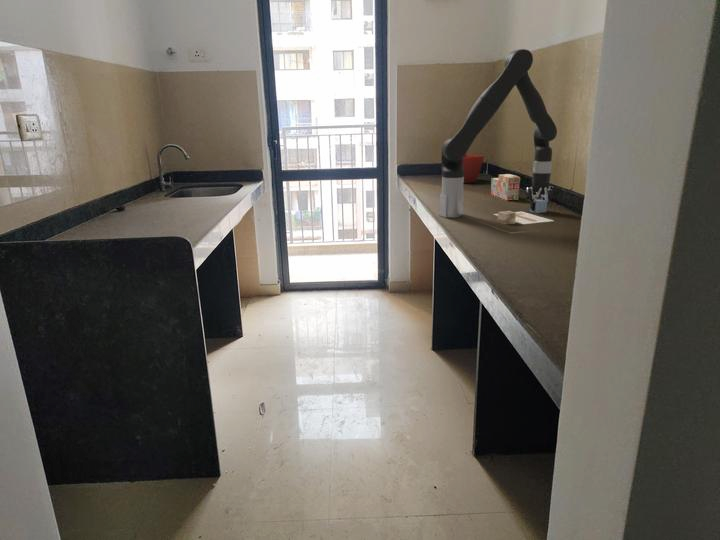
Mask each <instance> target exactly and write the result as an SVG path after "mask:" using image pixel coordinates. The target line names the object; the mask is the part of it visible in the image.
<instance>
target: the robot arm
mask: <svg viewBox="0 0 720 540" xmlns="http://www.w3.org/2000/svg"><path fill="white" fill-rule="evenodd" d="M533 61H534V56H533V54H532V52H531V51H530V50H528V49H525V48H522V49H516V50H513V51H511V52H509V53H508V54H507V55H506V57H505V58H504V70H503V71H502V72H501V74H500V75H499V77H497V78H496V80H495V81H493V83H491V84H490V85H489V86H488V87H487V88H486V89H485V90H484V91H483V92H482V93H481V95H479V96H478V98H477V99H476V101H475V102H474V104H473V105H472V107H471V108H470V110H469V112H468V114H467V116H466V119H465V121H464V123H463V125H462V126H461V128H460V129H459V130H458V132H457V133H456V134H455V135H454V136H453V137H451V138H448V139H446V141H444V143H443V145H442V146H441V173H442V174H441V175H442V176H441V193H440V194H439V214H438V215H439V216H441V217H443V218H460V217H463V208H464V207H463V205H464V184H465V183H464V170H463V157H464V156H465V154H467V152H468V151H469V149H470V147H471V146H472V144H473V143H474V141H475V139H477V137H478V135H479V134H480V133H481V132H482V131H483V129H484V128H485V127H486V126H487V125H488V123H489V122H490V121H491V120H492V118H493V117H494V116H495V114H496V113H497V112H498V110H499V109H500V107H501V105H502V104H503V103H504V102H505V100H506V99H507V97H508V96H509V94H510V93H511V91H512V90H513V88H514V87H516V88H517V90H518V93H519V95H520V96H521V99H522V101H523V104H524V106H525V108H526V111H527V114H528V117H529V119H530V121H531V122H532V123H534V124H535V125H536V127H535V129H534V132H533V143H534V157H533V158H534V160H533V164H532V165H533V166H532V176H531V182H532V185H531V186H530V187H526V188H525V190H524V191H525V197H526V201H528V202H531V203H529V204H530V205H529V210H530V209H531V210H532V211H535V205H536V203H535V202H536V200H538V198H539V197H541V200H545V201H547V202H548V201H551V200H552V198H553V195H554V192H555V188H556V187H555V186H553V185H550V182H551V175H552V158H553V148H551V147H550V142H551V141H553V140H555V139H556V137H557V134H558V129H557V125H556V124H555V122H554V119H552V117H551V115H550V114H549V113H548V110H547V108H546V105H545V102H544V99H543V98H542V95H541V94H540V93H539V91H538V90H537V88H536V86H535V85H534V83H533V82H532V79H531V76H530V75H529V72H528V71H530V69H531V68H532V66H533Z"/></svg>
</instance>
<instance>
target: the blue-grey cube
mask: <svg viewBox="0 0 720 540" xmlns="http://www.w3.org/2000/svg"><path fill="white" fill-rule="evenodd" d="M529 202H530V201H529ZM530 203H531V202H530ZM530 203H529V204H530ZM535 203H536V205H535V211H532V210H531V209H530V208H529V212H531V213H536V214H538V213H539V214H540V213H547V211H548V209H547V208H548V207H547V206H548V201H545V200H542V199H536V202H535Z"/></svg>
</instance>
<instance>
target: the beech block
mask: <svg viewBox="0 0 720 540" xmlns="http://www.w3.org/2000/svg"><path fill="white" fill-rule="evenodd" d="M497 214H498V216H497V221H496V222H497V223H499V224H502V225H512V224H514V225H515V224H516V222H515V220H516V213H514V211H511V210H504V211H502V210H501V211H498V212H497Z"/></svg>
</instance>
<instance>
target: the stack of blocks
mask: <svg viewBox="0 0 720 540" xmlns="http://www.w3.org/2000/svg"><path fill="white" fill-rule="evenodd" d="M520 183H521V177H520V176H518V175H516V174H515V175H514V174H511V173H505V174H498V177H492V178H491V180H490V184H491V185H490V196H493V195H494V196H493V197H495V196H497V197H496V198H498V197H500V198H502V199H501V200H503V199H505V200H518V201H519V197H520V195H519V194H520V193H519V192H520V185H521V184H520ZM500 198H499V199H500ZM505 200H504V201H505Z"/></svg>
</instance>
